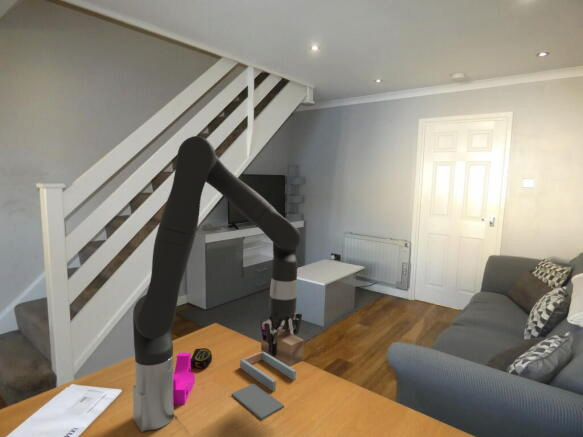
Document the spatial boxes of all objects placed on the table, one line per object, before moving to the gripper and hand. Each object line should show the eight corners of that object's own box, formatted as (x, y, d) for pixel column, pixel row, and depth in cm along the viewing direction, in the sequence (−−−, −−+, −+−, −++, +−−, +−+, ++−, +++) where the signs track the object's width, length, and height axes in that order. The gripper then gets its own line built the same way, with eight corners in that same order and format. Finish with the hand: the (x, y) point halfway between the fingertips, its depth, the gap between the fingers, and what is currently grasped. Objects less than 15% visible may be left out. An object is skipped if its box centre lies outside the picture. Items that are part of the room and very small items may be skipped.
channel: (272, 391, 103) (273, 382, 102) (240, 368, 115) (240, 359, 115) (295, 379, 109) (296, 370, 109) (262, 358, 121) (262, 350, 121)
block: (289, 366, 91) (291, 345, 91) (261, 350, 100) (262, 330, 99) (302, 360, 95) (304, 340, 94) (273, 345, 103) (274, 325, 103)
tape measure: (195, 354, 120) (195, 346, 119) (214, 356, 120) (214, 348, 118) (188, 369, 114) (187, 360, 113) (208, 371, 113) (207, 362, 112)
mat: (261, 420, 90) (261, 418, 90) (231, 395, 100) (231, 393, 100) (284, 406, 96) (284, 405, 96) (253, 384, 106) (253, 383, 106)
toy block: (184, 405, 96) (184, 379, 95) (162, 404, 96) (161, 379, 95) (198, 375, 111) (198, 352, 110) (179, 374, 111) (178, 352, 110)
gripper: (293, 286, 103) (289, 340, 105) (254, 295, 94) (251, 354, 95) (310, 293, 98) (307, 350, 100) (272, 302, 88) (268, 365, 90)
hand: (280, 352), depth 97 cm, fingers closed on block, 5 cm apart
